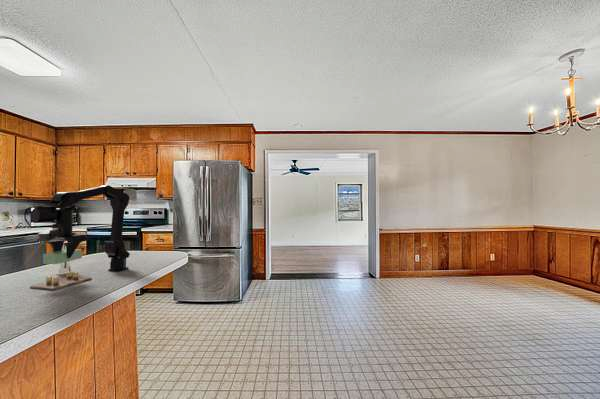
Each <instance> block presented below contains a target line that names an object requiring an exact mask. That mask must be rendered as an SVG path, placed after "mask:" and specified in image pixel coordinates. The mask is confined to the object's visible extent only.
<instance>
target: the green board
mask: <svg viewBox="0 0 600 399" xmlns="http://www.w3.org/2000/svg"><path fill="white" fill-rule="evenodd" d="M42 254H43V255H42V264H44V265H58V263H63V262H67V261H72V260H73V261H75V260H79V259H80V260H81V259H82V258H83V249H81V248H79V249H78V248H76V250H75V251H74V253H73V255H72V256H71V258H67V250H62V251H57V252H54V251H53V252H52V251H51V252H47V253H42Z"/></svg>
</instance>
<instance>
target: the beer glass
mask: <svg viewBox="0 0 600 399" xmlns="http://www.w3.org/2000/svg"><path fill="white" fill-rule="evenodd" d="M66 242H67V241H64V243H66ZM62 250H66V246H65V245H64V244H63V247H62ZM73 261H74V260H72V261H67V262H63V263H58V264H57V270H56V275H57V276H60V275H61V276H64V275H66V272H72V274H73V273H74V268H73Z"/></svg>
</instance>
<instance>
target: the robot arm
mask: <svg viewBox="0 0 600 399" xmlns="http://www.w3.org/2000/svg"><path fill="white" fill-rule="evenodd" d="M102 195H104V197H105V198H106V199H108V200H109V202H110V203H109V204H110V206H111V209H112V215H111V216H112V219H111V227H110V236H109V239H108V241H104V248H103V250H104V252H105V254H106V255H107V257H108V259H110V262H109V264H110V265H109V269H108V270H107V271H108V272H112V271H113V272H121V271H124V270H127V269H129V267H127V258H129V257H130V255H131V254H130V252H129V251H128V250H127V249H126V248H125V247H126V246H125V241H124V239H123V229H124V219H125V211H126V209H127V207H128V206H129V202H130V195H128V193H126V192H123V191H121V190H119V189H116V188H114V187H113V186H112V185H111V186H110V184H109V185H100V186H95V187H91V188H87V189H83V190H78V191H77V190H76V191H59V192H56V193H54V195H53V196H52V199H51V200H50V201H49V202H48V203H47V204H46V205H44V206H43V205H34V206H33V209H32V210H31V212H30V220H31V222H32V223H34V224H39V223H41V224H42V223H52V224H51V227H50V228H47V229H45V230H43V231H41V232H38V237H39V241H41V242H44V243H45V244H48V245H50V246H51V249H52V250H53V252H57V251H62V247H63V244H64V245H65V246H66V250H67V258H71V256H72V255H73V253H74V251H75V250H76V249H78V246H79V245H80V244H81V243H83V242H87V241H88V235H86V233H85V234H81V233H80V234H78V233H77V234H76V232H73V228H74V227H75V226H76V223H74V222H73V221H74V220H73V219H74V217H73V214H74V213H73V212H74V211H79V208H78V207H76V206H75V204H77V203H79V202H81V201H82V200H85V199H90V198H94V197H97V196H102ZM53 222H54V223H53ZM64 242H66V243H64Z"/></svg>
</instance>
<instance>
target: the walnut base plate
mask: <svg viewBox="0 0 600 399" xmlns="http://www.w3.org/2000/svg"><path fill="white" fill-rule="evenodd" d="M65 275H66V276H65V277H59V276H54V277H53V276H51V275H50V276H46V278H45V281H44V282H40V283H37V284H33V285H29V286H30V287H29V288H30V289H34V290H42V291H43V290H44V291H52V292H53V291H56V290H60V289H64V288H67V287H70V286H73V285H77V284H81V283H84V282H88V281H91V280H92V279H93V278H92V277H88V276H79V272H78V271H75V272H74V271H73V273H72V272H66V274H65Z"/></svg>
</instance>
